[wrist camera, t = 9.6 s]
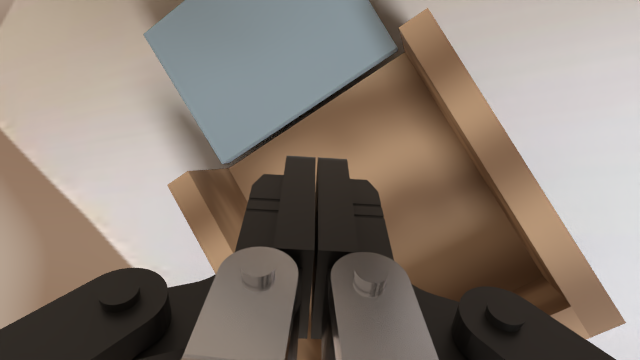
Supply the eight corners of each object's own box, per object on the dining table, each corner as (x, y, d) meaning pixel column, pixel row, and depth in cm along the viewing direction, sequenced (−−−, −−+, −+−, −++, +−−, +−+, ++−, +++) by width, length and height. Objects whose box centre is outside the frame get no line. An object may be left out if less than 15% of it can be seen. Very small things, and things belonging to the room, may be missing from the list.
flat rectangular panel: (396, 47, 24) (307, -101, 24) (221, 164, 28) (143, 34, 28) (398, 53, 26) (316, -82, 26) (236, 161, 30) (163, 41, 30)
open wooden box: (574, 278, 25) (625, 322, 19) (339, 384, 30) (312, 452, 23) (428, 45, 27) (427, 8, 20) (224, 178, 31) (167, 184, 24)
